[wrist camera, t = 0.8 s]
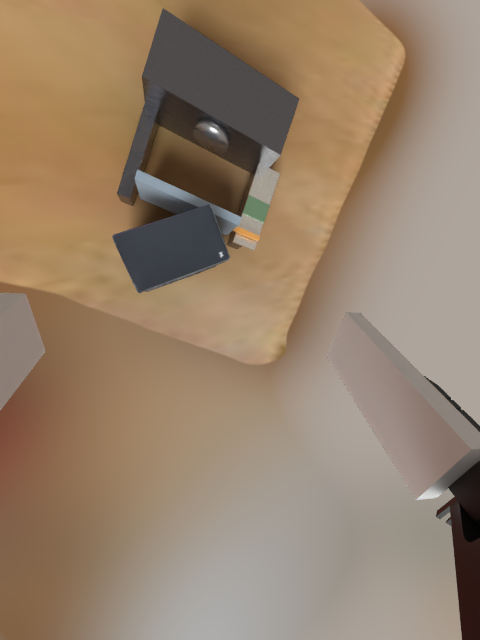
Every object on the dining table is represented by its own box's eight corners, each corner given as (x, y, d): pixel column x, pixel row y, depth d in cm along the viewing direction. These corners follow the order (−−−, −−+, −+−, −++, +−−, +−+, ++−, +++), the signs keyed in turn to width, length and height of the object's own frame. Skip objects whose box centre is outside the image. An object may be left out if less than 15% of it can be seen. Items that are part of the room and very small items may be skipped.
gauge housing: (163, 64, 33) (162, 8, 26) (285, 137, 38) (310, 106, 31) (121, 201, 33) (109, 180, 27) (246, 253, 39) (263, 246, 32)
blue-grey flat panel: (142, 191, 33) (137, 169, 27) (252, 239, 38) (269, 230, 31) (140, 198, 33) (134, 178, 27) (250, 245, 38) (266, 237, 31)
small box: (199, 222, 36) (211, 199, 26) (215, 266, 38) (233, 260, 28) (125, 247, 34) (108, 232, 24) (146, 293, 36) (138, 296, 26)
